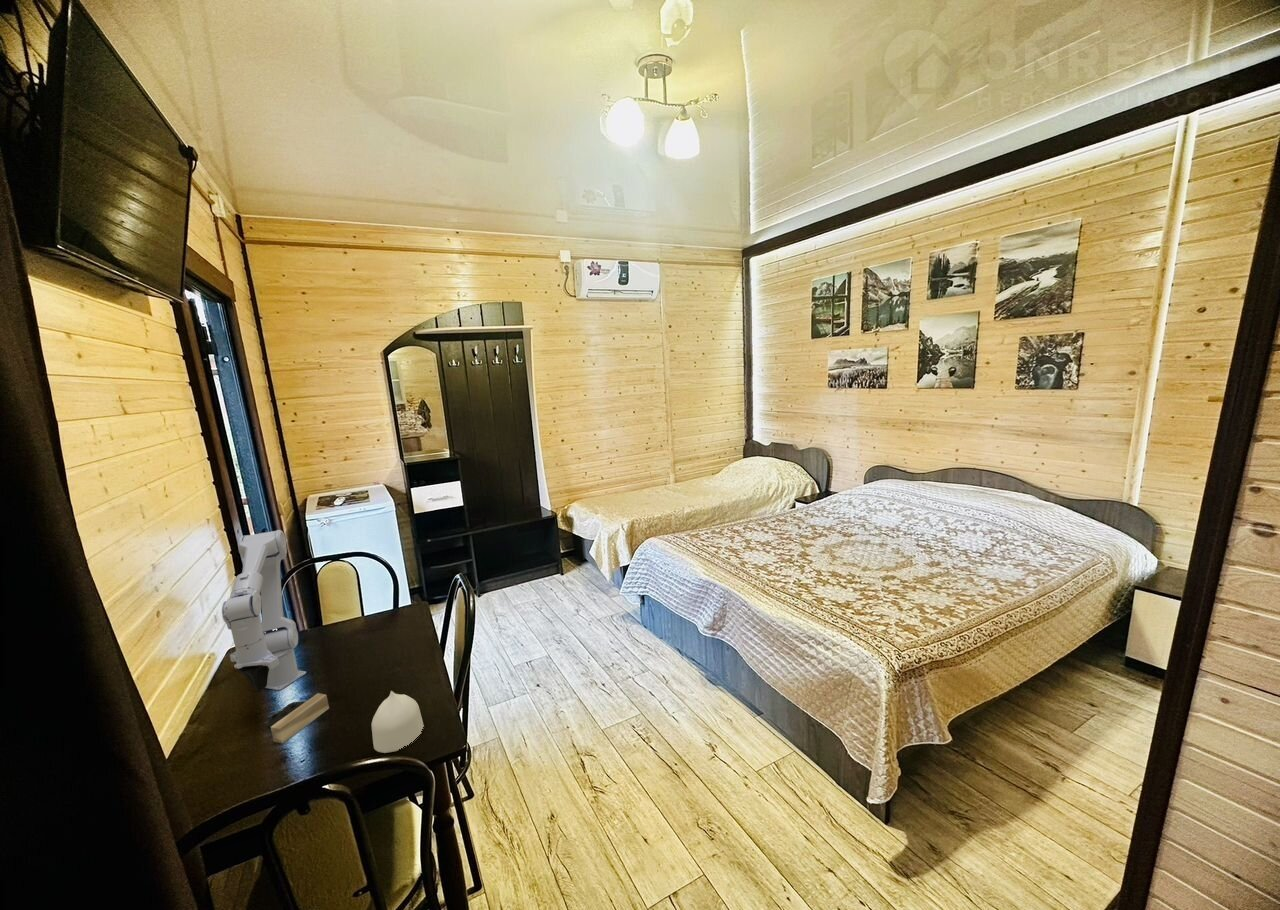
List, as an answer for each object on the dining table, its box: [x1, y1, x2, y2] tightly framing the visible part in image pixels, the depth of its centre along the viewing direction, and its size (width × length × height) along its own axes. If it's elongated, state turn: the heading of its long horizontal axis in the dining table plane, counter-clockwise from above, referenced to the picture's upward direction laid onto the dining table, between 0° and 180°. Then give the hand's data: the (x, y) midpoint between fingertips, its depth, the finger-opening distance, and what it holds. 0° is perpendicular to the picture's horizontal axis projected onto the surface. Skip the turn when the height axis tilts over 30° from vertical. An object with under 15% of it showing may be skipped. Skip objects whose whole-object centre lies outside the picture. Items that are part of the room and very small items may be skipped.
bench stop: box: [270, 692, 330, 745], centre depth 115 cm, size 3×12×4 cm, turn 163°
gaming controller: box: [267, 700, 307, 729], centre depth 117 cm, size 10×5×6 cm
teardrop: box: [371, 690, 425, 754], centre depth 109 cm, size 11×11×12 cm
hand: (261, 688), depth 118 cm, fingers closed
